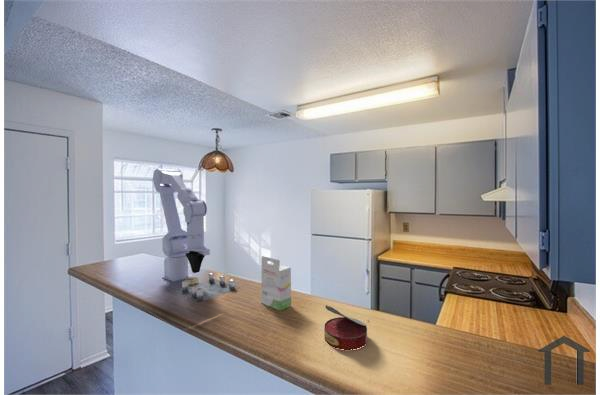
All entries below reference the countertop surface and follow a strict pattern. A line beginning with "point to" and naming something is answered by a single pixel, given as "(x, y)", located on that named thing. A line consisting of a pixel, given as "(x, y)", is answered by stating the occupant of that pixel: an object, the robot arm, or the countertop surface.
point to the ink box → (275, 284)
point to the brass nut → (192, 280)
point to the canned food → (345, 332)
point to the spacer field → (207, 288)
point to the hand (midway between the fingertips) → (195, 272)
